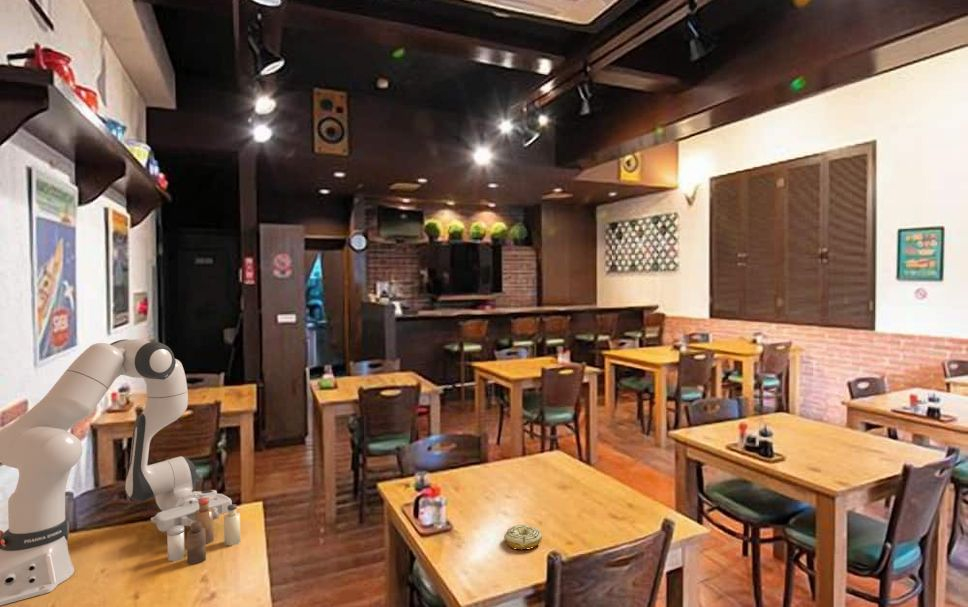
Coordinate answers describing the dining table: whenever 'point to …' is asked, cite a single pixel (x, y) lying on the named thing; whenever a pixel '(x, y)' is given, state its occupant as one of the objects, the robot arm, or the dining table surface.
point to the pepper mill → (196, 544)
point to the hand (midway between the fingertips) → (205, 520)
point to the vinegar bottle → (232, 526)
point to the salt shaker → (175, 542)
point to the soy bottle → (205, 518)
